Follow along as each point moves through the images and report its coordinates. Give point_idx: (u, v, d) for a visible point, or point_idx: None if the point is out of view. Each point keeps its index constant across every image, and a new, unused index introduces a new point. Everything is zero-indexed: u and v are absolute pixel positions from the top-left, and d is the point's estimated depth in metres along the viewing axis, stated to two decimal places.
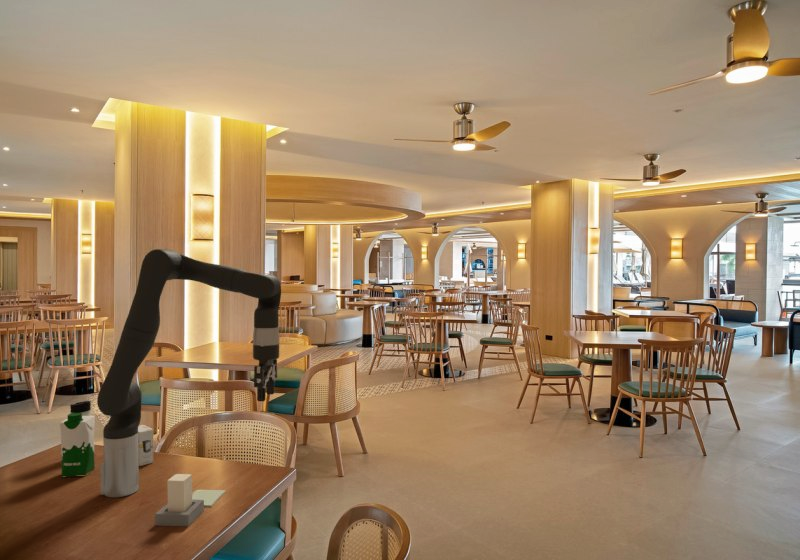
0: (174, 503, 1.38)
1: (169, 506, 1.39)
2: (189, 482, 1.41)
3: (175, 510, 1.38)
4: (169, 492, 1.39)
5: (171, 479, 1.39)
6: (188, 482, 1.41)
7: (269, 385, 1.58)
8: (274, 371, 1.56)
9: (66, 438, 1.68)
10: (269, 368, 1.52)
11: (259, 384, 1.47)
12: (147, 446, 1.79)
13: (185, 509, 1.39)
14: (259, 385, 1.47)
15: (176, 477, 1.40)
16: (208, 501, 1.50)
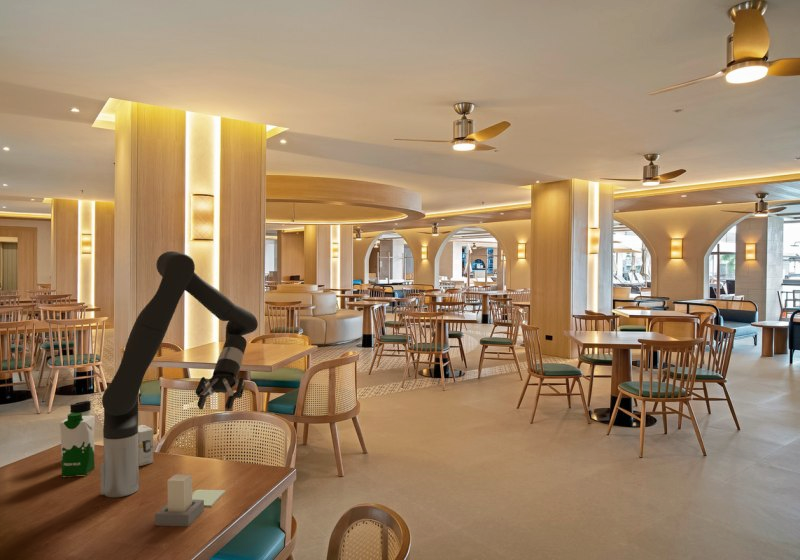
0: (174, 503, 1.38)
1: (169, 506, 1.39)
2: (189, 482, 1.41)
3: (175, 510, 1.38)
4: (169, 492, 1.39)
5: (171, 479, 1.39)
6: (188, 482, 1.41)
7: (203, 400, 1.61)
8: None
9: (66, 438, 1.68)
10: None
11: (240, 394, 1.63)
12: (147, 446, 1.79)
13: (185, 509, 1.39)
14: (240, 395, 1.63)
15: (176, 477, 1.40)
16: (208, 501, 1.50)
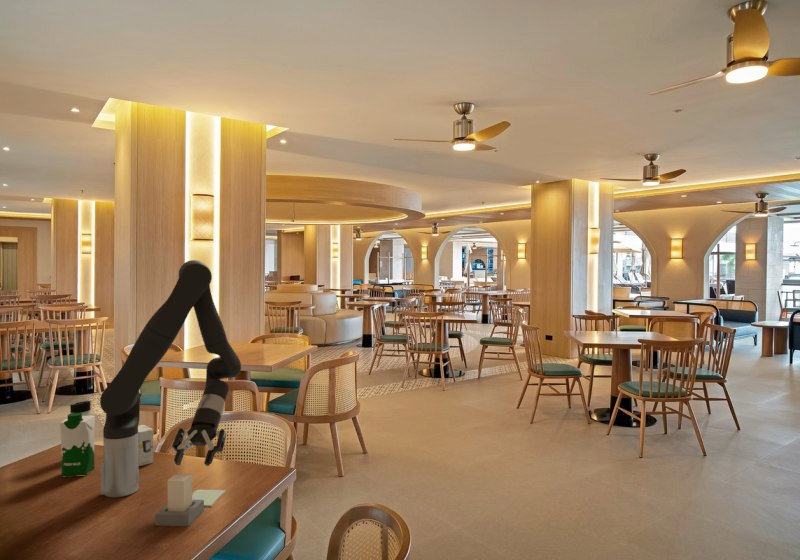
0: (174, 503, 1.38)
1: (169, 506, 1.39)
2: (189, 482, 1.41)
3: (175, 510, 1.38)
4: (169, 492, 1.39)
5: (171, 479, 1.39)
6: (188, 482, 1.41)
7: (181, 454, 1.49)
8: None
9: (66, 438, 1.68)
10: None
11: (221, 447, 1.51)
12: (147, 446, 1.79)
13: (185, 509, 1.39)
14: (221, 448, 1.50)
15: (176, 477, 1.40)
16: (208, 501, 1.50)
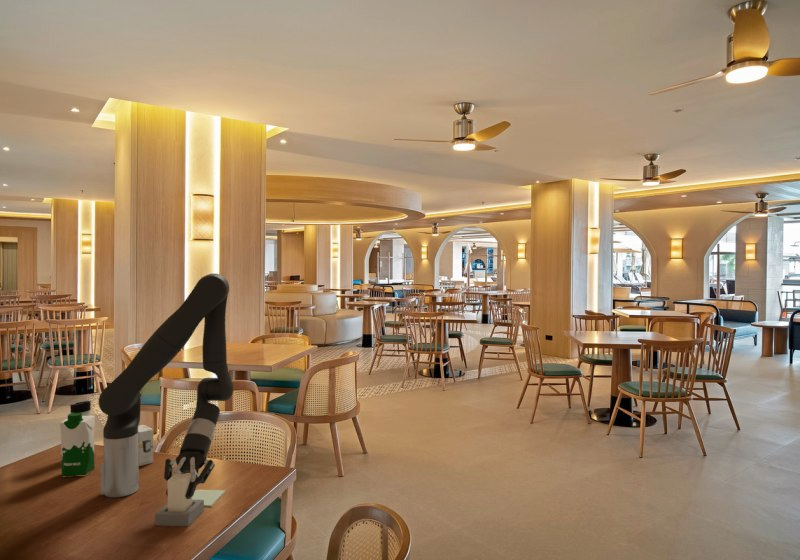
0: (174, 503, 1.38)
1: (169, 506, 1.39)
2: (189, 482, 1.41)
3: (175, 510, 1.38)
4: (169, 492, 1.39)
5: (171, 479, 1.39)
6: (188, 482, 1.41)
7: None
8: None
9: (66, 438, 1.68)
10: None
11: (203, 479, 1.43)
12: (147, 446, 1.79)
13: (185, 509, 1.39)
14: (203, 480, 1.43)
15: (176, 477, 1.40)
16: (208, 501, 1.50)
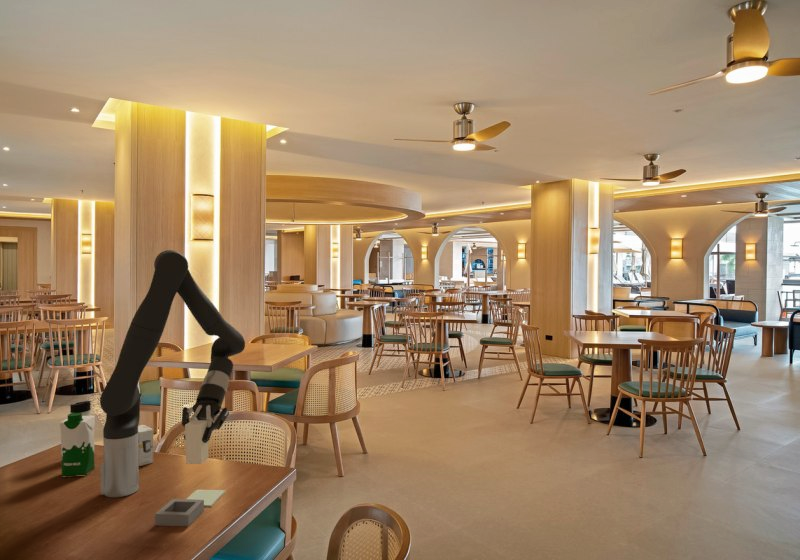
0: (192, 446, 1.47)
1: (187, 449, 1.47)
2: (205, 427, 1.49)
3: (193, 453, 1.47)
4: (187, 436, 1.47)
5: (188, 424, 1.47)
6: (204, 427, 1.49)
7: None
8: None
9: (66, 438, 1.68)
10: None
11: (219, 425, 1.51)
12: (147, 446, 1.79)
13: (202, 452, 1.47)
14: (218, 426, 1.51)
15: (193, 423, 1.48)
16: (208, 501, 1.50)
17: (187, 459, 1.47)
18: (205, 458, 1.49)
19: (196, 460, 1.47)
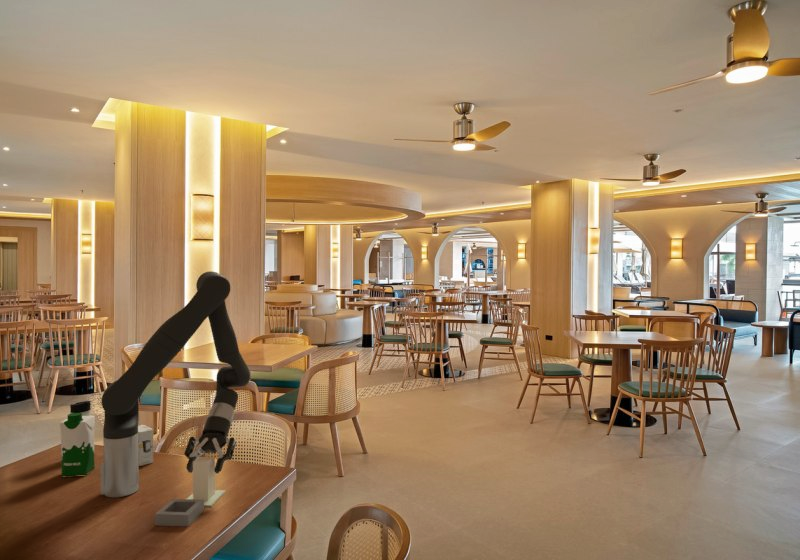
0: (199, 483, 1.50)
1: (194, 486, 1.51)
2: (212, 464, 1.53)
3: (200, 489, 1.50)
4: (194, 473, 1.51)
5: (196, 461, 1.51)
6: (211, 463, 1.53)
7: None
8: (204, 450, 1.59)
9: (66, 438, 1.68)
10: None
11: (230, 455, 1.55)
12: (147, 446, 1.79)
13: (209, 488, 1.51)
14: (230, 456, 1.55)
15: (200, 459, 1.52)
16: (208, 501, 1.50)
17: (194, 495, 1.51)
18: (212, 494, 1.53)
19: (203, 496, 1.50)
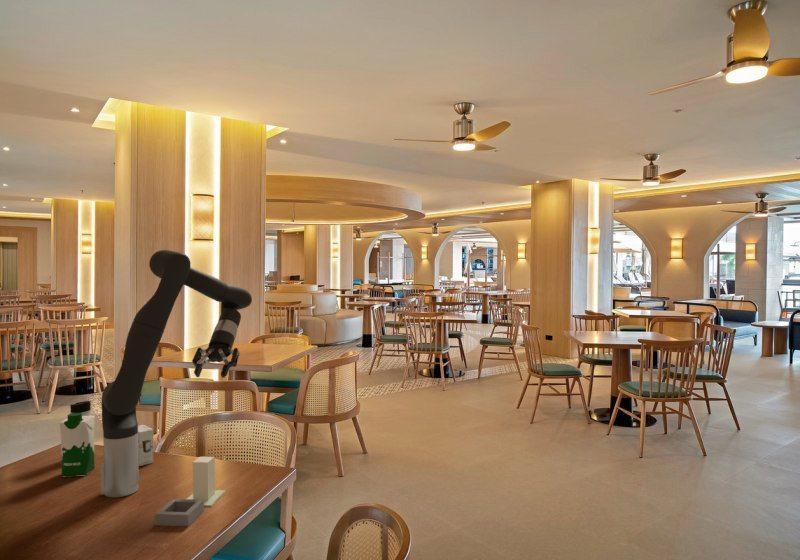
0: (199, 483, 1.50)
1: (194, 486, 1.51)
2: (212, 464, 1.53)
3: (200, 490, 1.50)
4: (194, 473, 1.51)
5: (196, 461, 1.51)
6: (211, 463, 1.53)
7: (200, 368, 1.70)
8: None
9: (66, 438, 1.68)
10: None
11: (235, 363, 1.71)
12: (147, 446, 1.79)
13: (209, 488, 1.51)
14: (235, 363, 1.71)
15: (200, 459, 1.52)
16: (208, 501, 1.50)
17: (194, 495, 1.51)
18: (212, 494, 1.53)
19: (203, 496, 1.50)
